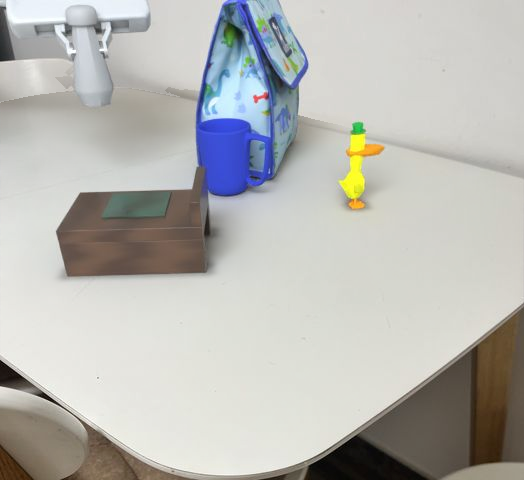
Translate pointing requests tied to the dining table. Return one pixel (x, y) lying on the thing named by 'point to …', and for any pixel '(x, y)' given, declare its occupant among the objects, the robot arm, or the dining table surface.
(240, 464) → the dining table surface
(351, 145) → the toy figure
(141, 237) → the toy bed
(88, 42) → the salt shaker
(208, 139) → the mug
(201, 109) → the lunch bag
